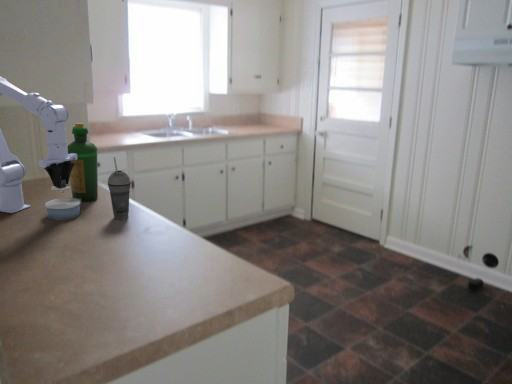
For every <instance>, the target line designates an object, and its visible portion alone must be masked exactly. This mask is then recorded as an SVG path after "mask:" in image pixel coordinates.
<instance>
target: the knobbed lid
mask: <svg viewBox="0 0 512 384" xmlns="http://www.w3.org/2000/svg"><path fill="white" fill-rule="evenodd" d="M60 178H61V177H60ZM50 189H51V191H58V192H60V194H62V193H64V191H68V190H71V184H70V183H68V184H66V179H65V178H61V186H60V187H54V185H51V186H50Z"/></svg>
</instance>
